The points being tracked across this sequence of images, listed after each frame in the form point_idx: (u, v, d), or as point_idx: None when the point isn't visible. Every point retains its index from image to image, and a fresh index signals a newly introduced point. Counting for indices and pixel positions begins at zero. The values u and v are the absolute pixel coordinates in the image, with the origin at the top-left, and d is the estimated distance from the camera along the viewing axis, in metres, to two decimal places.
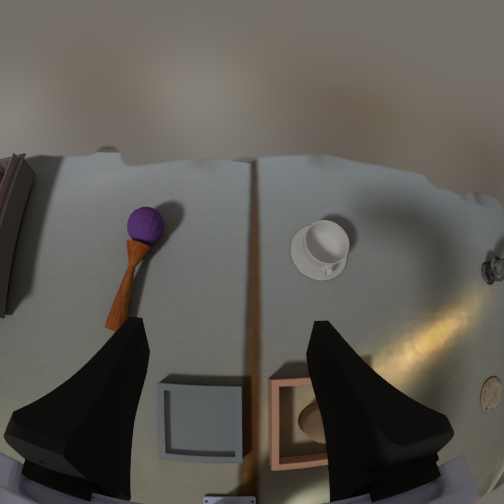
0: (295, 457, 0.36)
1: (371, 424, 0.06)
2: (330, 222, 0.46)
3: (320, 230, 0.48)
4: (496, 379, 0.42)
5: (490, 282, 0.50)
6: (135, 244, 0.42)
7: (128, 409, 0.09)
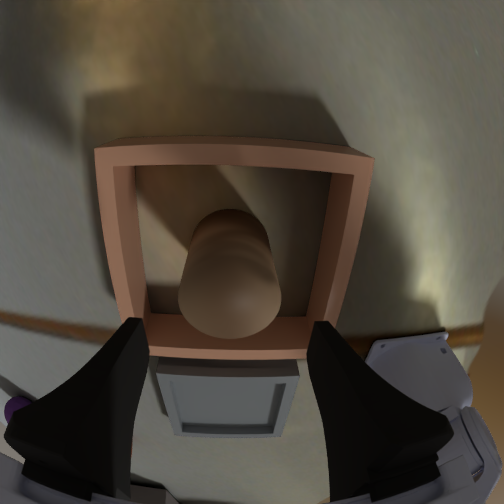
0: (314, 291, 0.21)
1: (371, 424, 0.06)
2: None
3: None
4: None
5: None
6: None
7: (128, 409, 0.09)
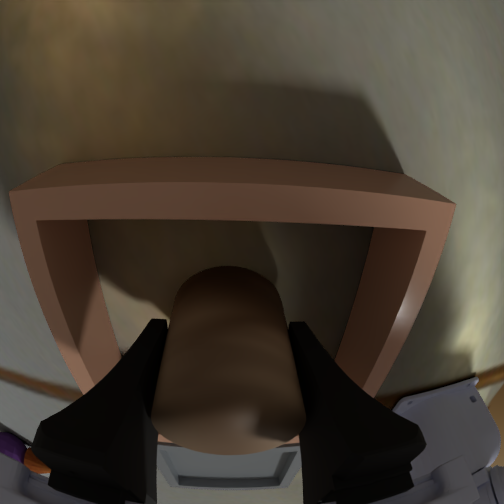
0: (340, 363, 0.15)
1: (335, 430, 0.06)
2: None
3: None
4: None
5: None
6: None
7: None
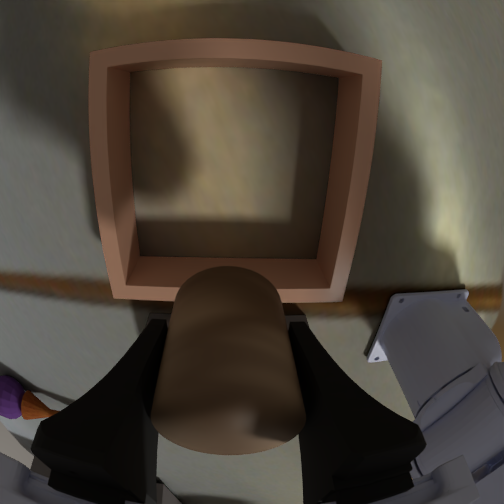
0: (325, 224, 0.18)
1: (335, 430, 0.06)
2: None
3: None
4: None
5: None
6: (26, 416, 0.24)
7: None
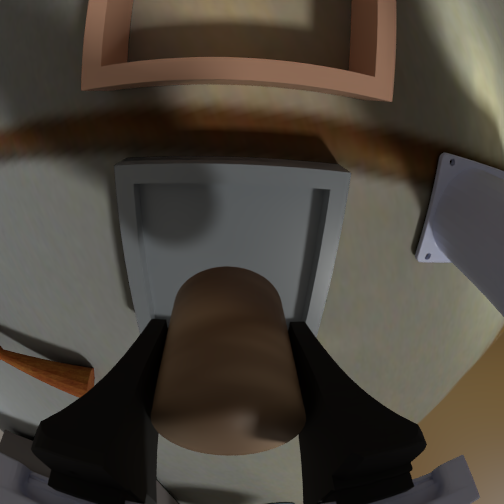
0: (355, 31, 0.12)
1: (335, 430, 0.06)
2: None
3: None
4: None
5: None
6: None
7: None
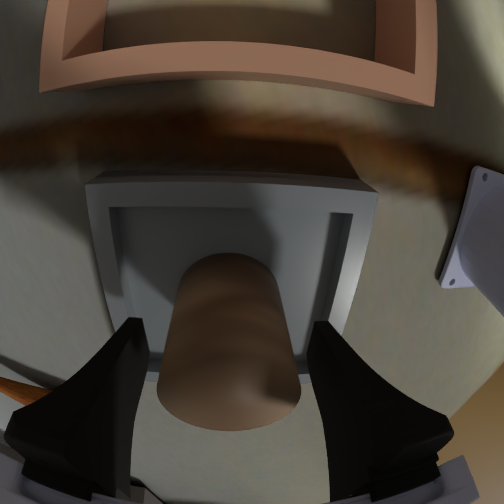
0: (382, 18, 0.09)
1: (371, 424, 0.06)
2: None
3: None
4: None
5: None
6: None
7: (128, 409, 0.09)
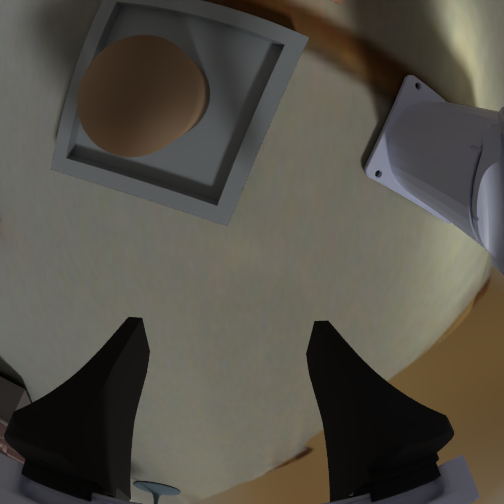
0: None
1: (371, 424, 0.06)
2: None
3: None
4: None
5: None
6: None
7: (128, 409, 0.09)
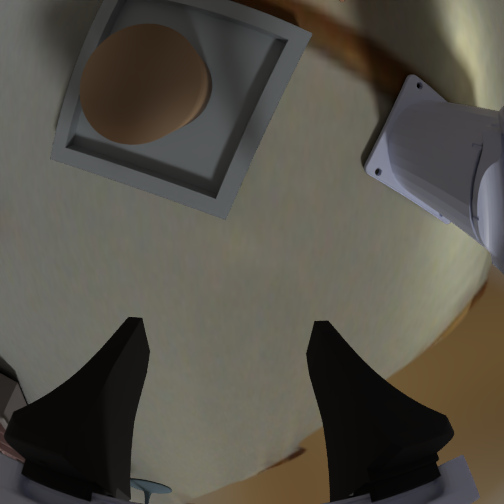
0: None
1: (371, 424, 0.06)
2: None
3: None
4: None
5: None
6: None
7: (128, 409, 0.09)
